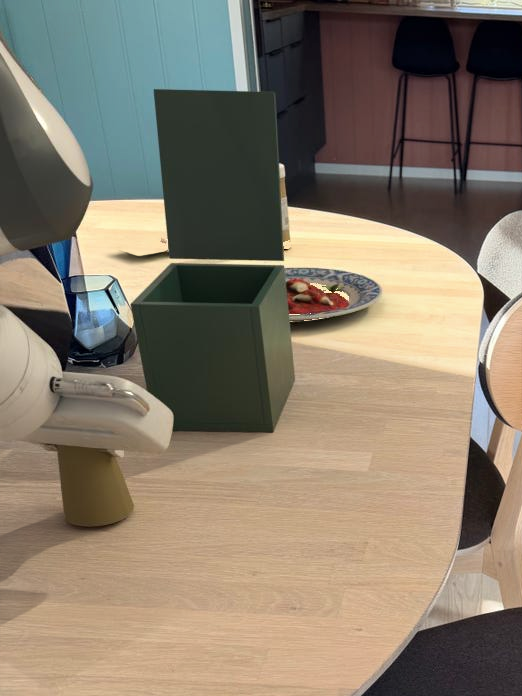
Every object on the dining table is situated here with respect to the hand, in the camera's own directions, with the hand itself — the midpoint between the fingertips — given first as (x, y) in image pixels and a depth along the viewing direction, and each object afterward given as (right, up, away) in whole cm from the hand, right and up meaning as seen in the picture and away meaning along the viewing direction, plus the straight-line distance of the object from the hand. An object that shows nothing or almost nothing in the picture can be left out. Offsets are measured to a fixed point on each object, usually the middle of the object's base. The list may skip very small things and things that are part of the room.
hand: (88, 446), depth 82 cm
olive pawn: (0, -5, +3) cm, 6 cm away
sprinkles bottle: (-1, +52, +83) cm, 99 cm away
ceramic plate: (+7, +32, +56) cm, 65 cm away
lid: (+6, +34, +20) cm, 40 cm away
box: (+6, +10, +25) cm, 28 cm away
